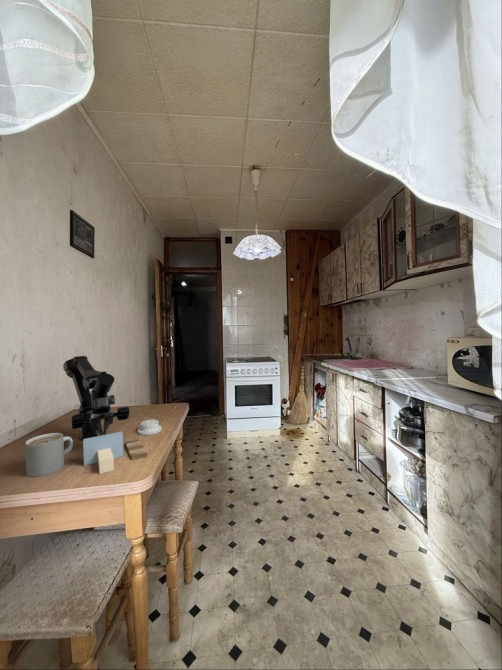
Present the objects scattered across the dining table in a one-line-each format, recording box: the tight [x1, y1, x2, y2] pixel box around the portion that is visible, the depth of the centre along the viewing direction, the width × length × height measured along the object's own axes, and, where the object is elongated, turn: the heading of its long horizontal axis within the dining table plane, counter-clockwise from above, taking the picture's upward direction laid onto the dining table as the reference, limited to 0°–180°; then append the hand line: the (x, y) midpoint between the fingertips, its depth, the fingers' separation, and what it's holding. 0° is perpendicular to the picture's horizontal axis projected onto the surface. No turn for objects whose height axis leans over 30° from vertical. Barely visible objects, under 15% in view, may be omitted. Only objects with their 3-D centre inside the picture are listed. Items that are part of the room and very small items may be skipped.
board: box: [124, 438, 148, 461], centre depth 101 cm, size 16×5×1 cm, turn 33°
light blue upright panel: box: [82, 431, 124, 475], centre depth 91 cm, size 12×12×8 cm
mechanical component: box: [137, 419, 162, 436], centre depth 120 cm, size 10×4×10 cm
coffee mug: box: [24, 432, 74, 478], centre depth 90 cm, size 13×10×10 cm
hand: (103, 437), depth 96 cm, fingers closed, pressing on light blue upright panel
